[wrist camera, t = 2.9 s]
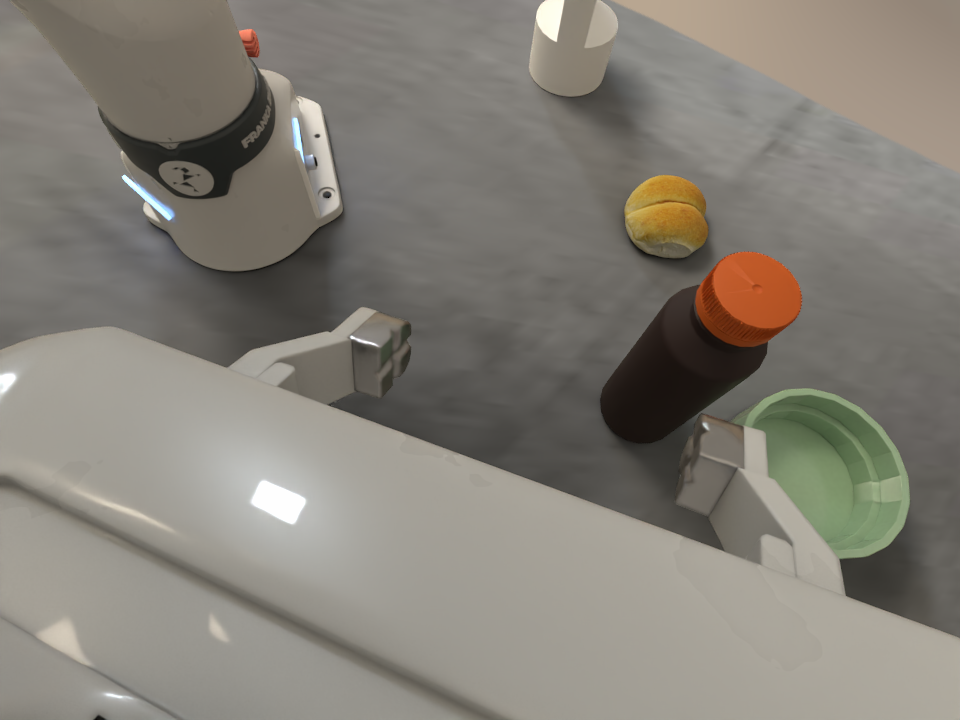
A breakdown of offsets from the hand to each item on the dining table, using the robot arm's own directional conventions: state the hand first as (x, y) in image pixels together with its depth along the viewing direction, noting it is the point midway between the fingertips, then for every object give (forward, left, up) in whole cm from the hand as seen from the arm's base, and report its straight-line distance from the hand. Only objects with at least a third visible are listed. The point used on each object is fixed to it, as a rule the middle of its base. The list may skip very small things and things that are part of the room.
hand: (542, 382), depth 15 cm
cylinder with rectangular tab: (-51, +14, -30) cm, 61 cm away
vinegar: (-9, +14, -30) cm, 35 cm away
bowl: (-2, +26, -30) cm, 40 cm away
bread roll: (-28, +21, -30) cm, 46 cm away
